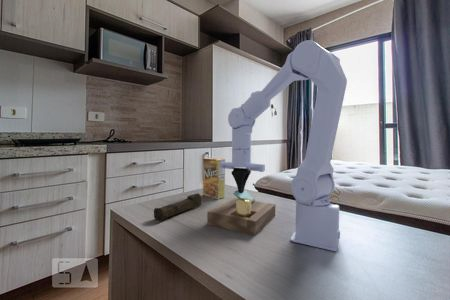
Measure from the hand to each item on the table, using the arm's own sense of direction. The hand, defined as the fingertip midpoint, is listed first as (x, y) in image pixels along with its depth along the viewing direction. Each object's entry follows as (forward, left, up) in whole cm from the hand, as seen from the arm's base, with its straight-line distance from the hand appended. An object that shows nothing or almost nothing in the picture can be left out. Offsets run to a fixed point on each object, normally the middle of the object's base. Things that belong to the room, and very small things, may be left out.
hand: (240, 193), depth 68 cm
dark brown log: (+18, +8, -7) cm, 20 cm away
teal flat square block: (-1, 0, -1) cm, 2 cm away
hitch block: (-3, +4, -6) cm, 8 cm away
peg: (-5, +8, -7) cm, 11 cm away
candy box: (+18, -13, -7) cm, 23 cm away
